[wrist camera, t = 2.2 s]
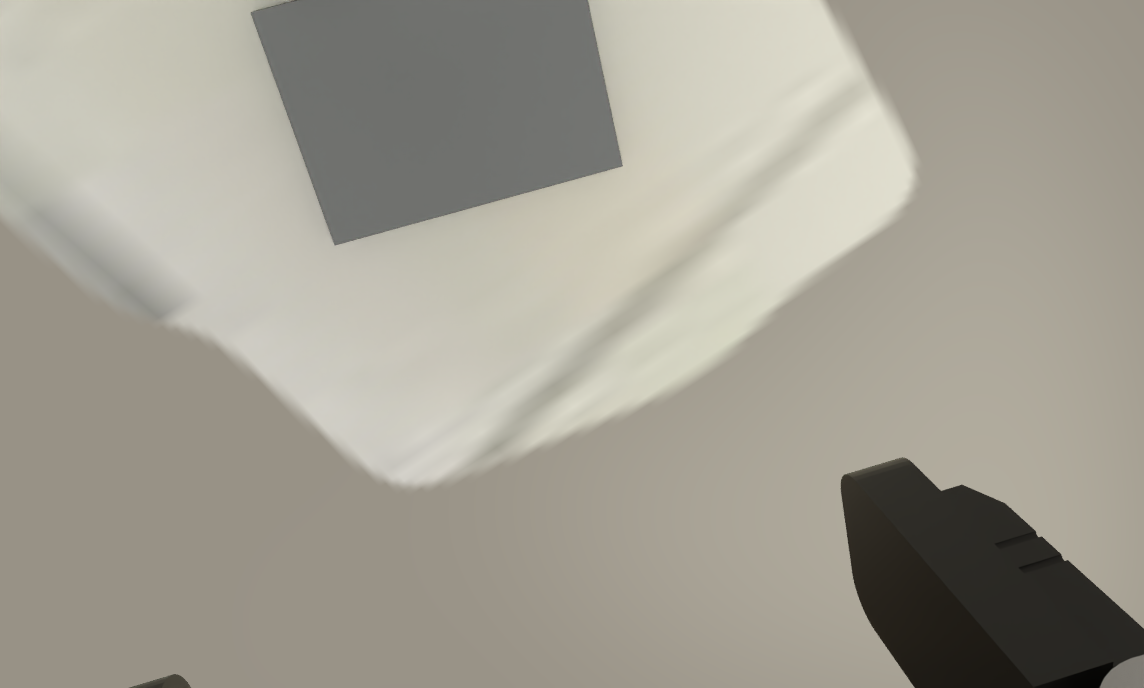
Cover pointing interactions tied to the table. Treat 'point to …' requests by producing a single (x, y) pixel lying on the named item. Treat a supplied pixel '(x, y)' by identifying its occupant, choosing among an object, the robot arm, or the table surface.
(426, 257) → the table surface
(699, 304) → the table surface
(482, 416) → the table surface
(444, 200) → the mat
